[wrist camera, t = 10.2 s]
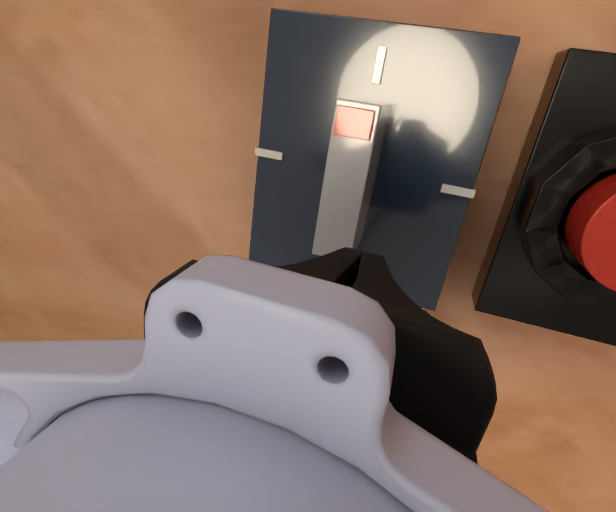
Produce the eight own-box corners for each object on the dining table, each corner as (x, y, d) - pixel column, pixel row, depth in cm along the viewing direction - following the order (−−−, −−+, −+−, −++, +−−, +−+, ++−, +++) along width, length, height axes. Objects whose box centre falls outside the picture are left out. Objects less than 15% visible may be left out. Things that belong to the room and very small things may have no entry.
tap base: (436, 286, 22) (436, 313, 19) (267, 244, 24) (245, 263, 21) (509, 46, 17) (525, 36, 14) (290, 20, 19) (267, 6, 17)
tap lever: (363, 236, 19) (348, 265, 16) (331, 228, 19) (309, 256, 16) (390, 104, 17) (380, 105, 13) (353, 98, 17) (334, 97, 14)
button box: (633, 335, 20) (671, 378, 17) (471, 295, 22) (478, 327, 19) (779, 79, 15) (869, 74, 12) (556, 52, 17) (585, 41, 14)
